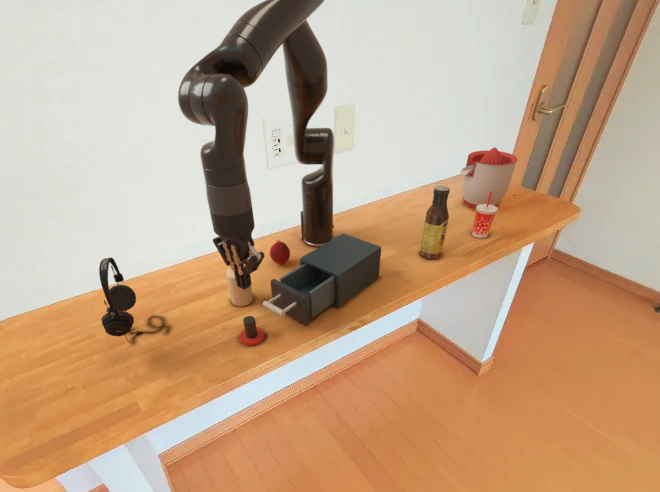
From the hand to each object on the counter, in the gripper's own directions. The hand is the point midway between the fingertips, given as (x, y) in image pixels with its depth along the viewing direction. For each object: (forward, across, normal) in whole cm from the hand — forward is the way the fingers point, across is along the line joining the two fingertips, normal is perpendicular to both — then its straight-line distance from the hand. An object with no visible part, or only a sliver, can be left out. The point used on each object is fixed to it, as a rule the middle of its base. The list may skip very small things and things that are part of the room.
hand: (244, 286), depth 78 cm
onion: (+14, +18, -27) cm, 36 cm away
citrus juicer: (+14, -9, -102) cm, 103 cm away
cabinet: (+14, -2, -30) cm, 33 cm away
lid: (+14, 0, 0) cm, 14 cm away
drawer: (+13, -2, -16) cm, 21 cm away
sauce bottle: (+14, -13, -59) cm, 62 cm away
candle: (+14, +13, -8) cm, 21 cm away
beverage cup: (+14, -19, -80) cm, 83 cm away
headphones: (+15, +20, +16) cm, 30 cm away
